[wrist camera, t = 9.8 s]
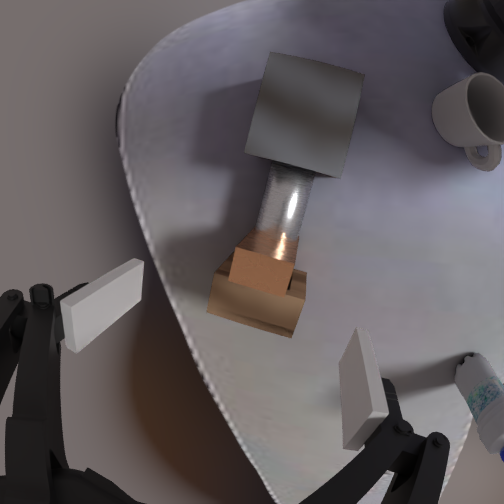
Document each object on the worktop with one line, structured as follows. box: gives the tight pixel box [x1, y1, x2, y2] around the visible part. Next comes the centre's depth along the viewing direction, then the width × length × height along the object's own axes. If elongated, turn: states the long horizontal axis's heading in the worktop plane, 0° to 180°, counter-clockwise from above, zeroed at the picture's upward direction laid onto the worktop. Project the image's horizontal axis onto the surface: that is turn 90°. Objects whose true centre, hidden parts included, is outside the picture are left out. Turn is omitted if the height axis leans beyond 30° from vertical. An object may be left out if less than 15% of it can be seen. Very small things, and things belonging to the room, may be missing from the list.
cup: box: [432, 72, 504, 171], centre depth 21 cm, size 7×10×9 cm
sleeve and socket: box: [207, 52, 365, 338], centre depth 28 cm, size 26×9×8 cm, turn 166°
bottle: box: [454, 353, 504, 462], centre depth 23 cm, size 7×7×20 cm
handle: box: [228, 160, 316, 297], centre depth 27 cm, size 18×5×10 cm, turn 166°
